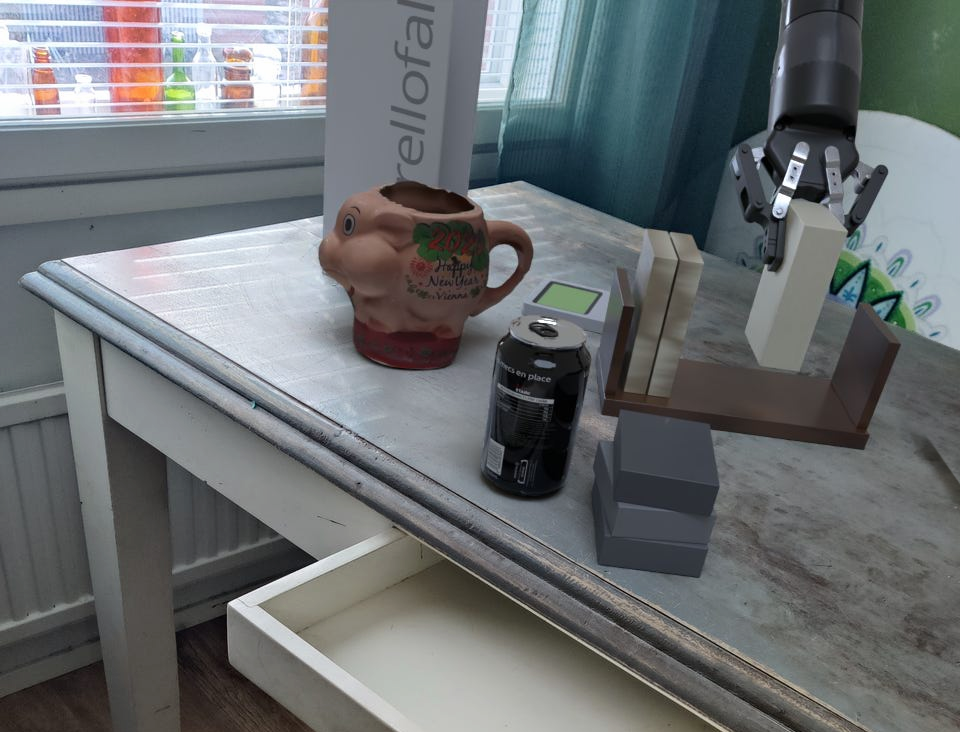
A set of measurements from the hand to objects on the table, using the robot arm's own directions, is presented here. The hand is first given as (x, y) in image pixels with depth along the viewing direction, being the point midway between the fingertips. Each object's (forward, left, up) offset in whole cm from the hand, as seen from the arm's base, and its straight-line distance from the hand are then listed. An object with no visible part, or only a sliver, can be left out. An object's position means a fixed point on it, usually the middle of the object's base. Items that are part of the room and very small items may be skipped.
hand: (799, 270), depth 85 cm
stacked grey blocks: (+13, +25, -13) cm, 31 cm away
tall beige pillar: (0, 0, -8) cm, 8 cm away
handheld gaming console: (+14, -19, -13) cm, 27 cm away
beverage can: (+22, +20, -13) cm, 32 cm away
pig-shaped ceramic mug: (+32, -3, -13) cm, 35 cm away
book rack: (+3, 0, -13) cm, 13 cm away
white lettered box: (+37, -19, -13) cm, 44 cm away
